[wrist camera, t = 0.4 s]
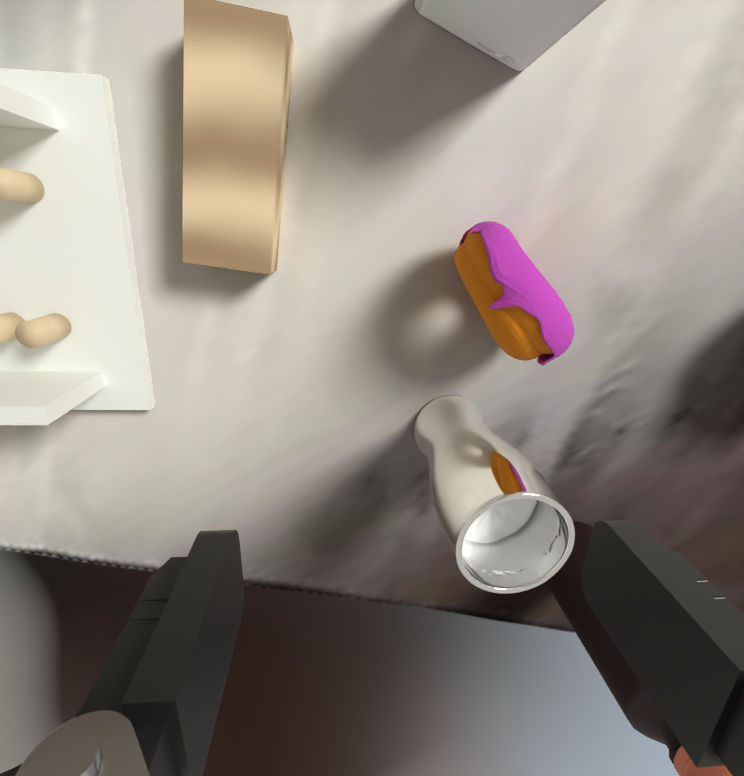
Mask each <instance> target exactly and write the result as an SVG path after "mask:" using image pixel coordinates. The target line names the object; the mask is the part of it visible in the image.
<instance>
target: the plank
mask: <svg viewBox="0 0 744 776" xmlns="http://www.w3.org/2000/svg"><path fill="white" fill-rule="evenodd" d="M293 49H294V41H293V37H292V33H291V29H290V24H289V20H288V16H285V15H280V14H276V13H271V12H267V11H262V10H257V9H253V8H248V7H243V6H239V5H234V4H229V3H225V2H220V1H216V0H184V82H183V215H182V262H186V263H192V264H199V265H206V266H213V267H220V268H227V269H234V270H241V271H248V272H255V273H261V274H268V275H269V274H271V273H273V272H274V271H276V270H277V259H278V246H279V233H280V220H281V207H282V194H283V180H284V167H285V154H286V141H287V128H288V115H289V102H290V89H291V76H292V63H293Z"/></svg>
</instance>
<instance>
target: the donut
mask: <svg viewBox="0 0 744 776" xmlns="http://www.w3.org/2000/svg"><path fill="white" fill-rule="evenodd" d="M454 263H455V266H456V269H457V271H458V273H459V275H460V277H461V279H462V281H463V283H464V285H465V287H466V289H467V290H468V292H469V294H470V296H471V298H472V300H473V302H474V304H475V306H476V308H477V309H478V311H479V313H480V315H481V317H482V319H483V321H484V323H485V325H486V326H487V328H488V330H489V332H490V334H491V335H492V337H493V338H494V340H495V341H496V342H497V344H498V345H499V346H500V347H501V348H502V349H503V350H504V351H505V352H506V353H507V354H508V355H510V356H512V357H513V358H516V359H519V360H531V359H534V358H536V357H538V361H537V362H539V364H541V365H545V364H546V363H548V362H549V361H551V360H553V359H555V358H557V357H559V356H560V355H561V354H563V353H564V352H565V351H566V350H567V349H568V347H569V346H570V344H571V342H572V339H573V335H574V327H573V322H572V319H571V315H570V313H569V312H568V310H567V309H566V307H565V304H564V302H563V301H562V300H561V299H560V298H559V296H558V295H557V293H556V291H555V290H554V289H553V288H552V287H551V285H550V284H549V283H548V281H547V280H546V279H545V278H544V277H543V275H542V274H541V273H540V272H539V271H538V269H537V268H536V267H535V265H534V264H533V263H532V262H531V260H530V259H529V258H528V256H527V255H526V254H525V253H524V251H523V250H522V248H521V247H520V245H519V244H518V242H517V240H516V239H515V237H514V236H513V234H512V233H511V232H510V230H509V229H507V228H506V227H505V226H503V225H501V224H499V223H496V222H482V223H478V224H476V225H475V226H473V227H472V228H470V229H469V230H468V231H466V233H465V234H464V235H463V238H462V239H461V241H460V244H459V247H458V248H457V250H456V253H455V256H454Z"/></svg>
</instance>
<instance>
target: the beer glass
mask: <svg viewBox="0 0 744 776" xmlns="http://www.w3.org/2000/svg"><path fill="white" fill-rule="evenodd" d="M414 438H415V441H416V444H417V446H418V447H419V449H420V450H421V452H422V453H423V454H424V455H425V456H426V457H427V459H428V463H429V479H430V490H431V496H432V502H433V506H434V509H435V513H436V516H437V519H438V522H439V524H440V527H441V529H442V532H443V534H444V536H445V539H446V541H447V543H448V545H449V547H450V549H451V551H452V553H453V555H454V557H455V559H456V561H457V564H458V567H459V569H460V571H461V572H462V574H463V575H464V577H465V578H466V579H467V580H468V581H469V582H471V583H472V584H473V585H475V586H477V587H479V588H481V589H483V590H486V591H489V592H494V593H503V594H507V593H517V592H522V591H526V590H529V589H532V588H534V587H537V586H539V585H541V584H542V583H544V582H546V581H547V580H549V579H550V578H551V577H553V576H554V575H555V574H556V573H557V572H558V571H559V570H560V569H561V568H562V567H563V566H564V564H565V563H566V561H567V560H568V558H569V556H570V554H571V552H572V549H573V546H574V541H575V528H574V524H573V521H572V518H571V516H570V515H569V513H568V512H567V510H566V509H565V508H564V507H563V506H562V504H561V503H560V501H559V499H558V498H557V496H556V495H555V493H554V492H553V490H552V489H551V487H550V486H549V484H548V483H547V481H546V480H545V479H544V478H543V476H542V475H541V474H540V472H539V471H538V470H537V469H536V467H535V466H534V465H533V464H532V463H531V462H530V461H529V460H528V459H527V458H526V457H525V456H524V455H523V454H522V453H521V452H520V451H519V450H517V449H516V448H515V447H514V446H513V445H511V444H510V443H509V442H507V441H506V440H504V439H503V438H501V437H500V436H498V435H497V434H495V433H494V432H492V431H491V430H490V429H488V428H487V427H486V424H485V421H484V418H483V415H482V413H481V411H480V410H479V408H478V407H477V406H476V405H475V404H474V403H473V402H471V401H470V400H468V399H466V398H463V397H460V396H444V397H440V398H437V399H435V400H433V401H431V402H430V403H428V404H427V405H426V406H425V407H424V408H423V409H422V410H421V411H420V413H419V414H418V416H417V418H416V421H415V424H414Z"/></svg>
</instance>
